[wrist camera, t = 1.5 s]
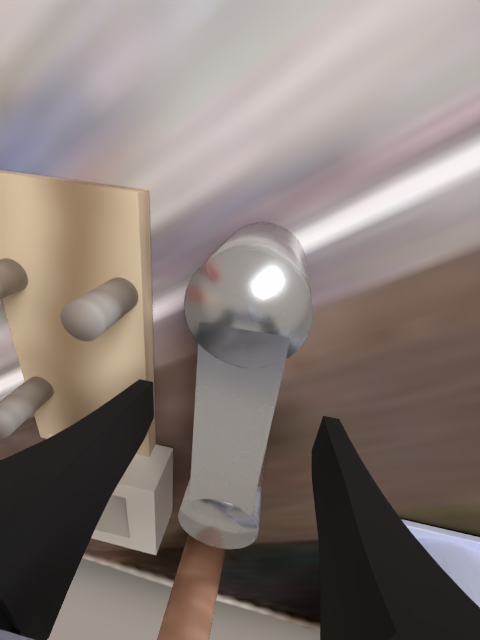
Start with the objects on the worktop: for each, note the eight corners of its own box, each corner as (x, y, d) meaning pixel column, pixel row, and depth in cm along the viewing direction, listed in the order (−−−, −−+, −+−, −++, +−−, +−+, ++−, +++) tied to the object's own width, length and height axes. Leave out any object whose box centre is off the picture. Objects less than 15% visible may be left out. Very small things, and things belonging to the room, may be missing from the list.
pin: (229, 524, 22) (205, 659, 16) (226, 545, 24) (202, 677, 17) (191, 514, 22) (152, 644, 16) (190, 536, 24) (153, 663, 18)
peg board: (149, 190, 12) (90, 197, 9) (156, 449, 20) (125, 509, 16) (-14, 167, 13) (-128, 165, 10) (51, 425, 20) (0, 478, 17)
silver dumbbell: (224, 216, 12) (185, 240, 8) (315, 229, 12) (327, 261, 8) (204, 453, 19) (177, 537, 15) (261, 466, 19) (252, 556, 14)
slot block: (173, 448, 19) (154, 491, 17) (172, 510, 23) (156, 555, 20) (61, 422, 20) (25, 460, 17) (75, 486, 23) (47, 527, 21)
